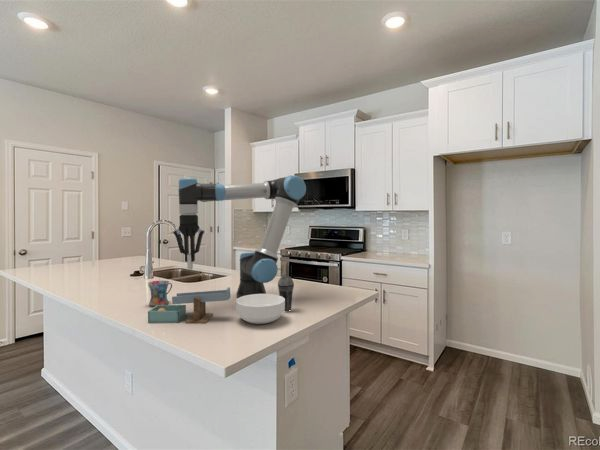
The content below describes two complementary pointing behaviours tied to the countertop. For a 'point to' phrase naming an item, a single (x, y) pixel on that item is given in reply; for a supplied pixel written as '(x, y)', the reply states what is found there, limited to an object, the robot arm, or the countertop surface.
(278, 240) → the robot arm
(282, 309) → the bowl
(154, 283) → the mug
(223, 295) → the blue-grey ramp
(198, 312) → the fulcrum
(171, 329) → the countertop surface
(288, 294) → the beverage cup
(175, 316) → the tray
